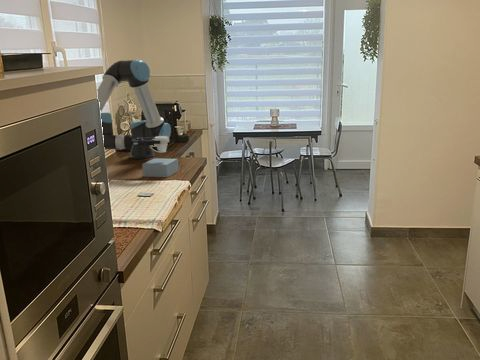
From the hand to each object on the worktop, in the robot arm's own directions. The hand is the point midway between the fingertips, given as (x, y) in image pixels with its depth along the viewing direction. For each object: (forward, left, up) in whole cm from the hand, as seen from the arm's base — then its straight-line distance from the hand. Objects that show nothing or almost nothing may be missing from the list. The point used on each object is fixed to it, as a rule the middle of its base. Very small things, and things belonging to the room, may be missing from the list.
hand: (167, 140), depth 242 cm
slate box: (0, -5, -18) cm, 19 cm away
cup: (0, -5, -6) cm, 8 cm away
